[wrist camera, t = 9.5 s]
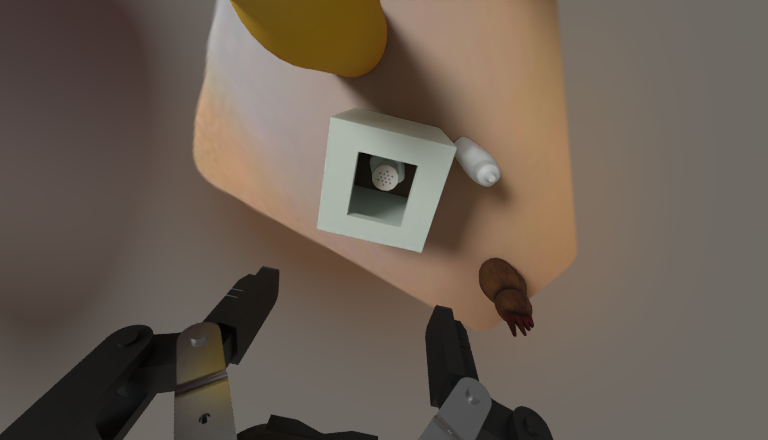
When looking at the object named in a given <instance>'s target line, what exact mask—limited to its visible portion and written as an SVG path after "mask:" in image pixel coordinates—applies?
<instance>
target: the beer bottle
mask: <svg viewBox="0 0 768 440" xmlns="http://www.w3.org/2000/svg"><path fill="white" fill-rule="evenodd" d="M230 1H231V3H232V5H233V7H234V9H235V11H236V12H237V14H238V16H239V18H240V19H241V21H242V23H243V24H244V25H245V27H246V28H247V29H248V31H249V32H250V33H251V35H252V36H253V37H254V38H255V39H256V40H257V41H258V42H259V43H260V44H261V45H262V46H263V47H264V48H265V49H267V50H268V51H270V52H271V53H272V54H274V55H275V56H277V57H278V58H280V59H281V60H283V61H286V62H288V63H290V64H292V65H294V66H298V67H302V68H306V69H313V70H318V71H323V72H328V73H332V74H337V75H340V76H344V77H357V76H361V75H364V74H366V73H367V72H369V71H371V70H372V69H373V68H374V67H375V66H376V65H377V64H378V62H379V61H380V59H381V57H382V55H383V53H384V50H385V47H386V43H387V24H386V18H385V15H384V12H383V10H382V7H381V3H380V0H230Z"/></svg>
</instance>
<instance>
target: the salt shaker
mask: <svg viewBox="0 0 768 440" xmlns="http://www.w3.org/2000/svg"><path fill="white" fill-rule="evenodd" d="M370 167H371V171H372V181H373V183H374V185H375V187H377V188H378V189H380V190H384V191H389V190H391V189H393V188H395V186H396V185H397V183H400V182H402V181H403V180H404V177H405V166H404V162H400V161H396V160H392V159H388V158H384V157H380V156H375V155H372V156H371V158H370Z"/></svg>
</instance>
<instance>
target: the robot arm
mask: <svg viewBox="0 0 768 440" xmlns="http://www.w3.org/2000/svg"><path fill="white" fill-rule="evenodd" d="M278 289H279V270H278V269H274V268H270V267H265V266H263V267H262V268H261V269H260V270H259V271H258V273H257V274H256V275H251V274H248V275H247V276H245V277H243V278H242V279H240V280H238V282H237V283H236V284H235V285H234V286H233V288H232V289H231V290H230V291H229V292H228V293H227V295H226V296H225V297H224V298H223V299H222V300H221V301H220V302H219V304H218V305H217V306H216V307H215V308H214V309H213V310H212V312H211V313H210V314H209V315H208V316H207V317H206V319H205V320H204V321H203V322H200V323H196V324H194V325H191V326H189V327H187V328H186V329H185V330H183V331H182V332H180V333H172V334H156V335H154V334H153V331H152V329H151V328H150V327H148V326H145V325H132V326H128V327H125V328H122V329H120V330H118V331H116V332H114V333H113V334H111V335H110V336H108V337H107V338H106V339H105V340H104V341H103V342H102V343H101V344H99V345H98V346H97V347H96V348H95V349H94V350H93V351H92V352H91V353H90V354H88V355H87V356H86V357H85V358H84V359H83V360H82V361H81V362H79V363H78V364H77V365H76V366H75V367H74V368H73V369H72V370H71V371H70V372H69V373H68V374H66V375H65V376H64V377H63V378H62V379H61V380H60V381H59V382H57V384H55V385H54V386H53V387H52V388H51V389H50V390H49V391H48V392H46V393H45V394H44V395H43V396H42V397H41V398H40V399H39V400H38V401H36V402H35V403H34V404H33V405H32V406H31V407H30V408H29V409H28V410H27V411H25V412H24V414H22V415H21V416H20V417H19V418H18V419H17V420H16V421H15V422H14V423H12V424H11V425H10V426H9V427H8V428H7V429H6V430H5V431H3V432H2V433H1V434H0V440H123V438H124V437H125V436H126V435H127V433H128V432H129V430H130V429H131V428H132V426H133V425H134V424H135V422H136V421H137V420H138V418H139V417H140V416H141V414H142V413H143V411H144V410H145V409H146V408H147V406H148V405H149V404H150V402H151V401H152V400H153V398H154V397H155V395H156V394H157V393H163V392H172V391H175V393H174V440H378V436H374V435H369V434H364V433H360V432H355V431H348V432H337V433H329V434H323V433H320V432H318V431H317V430H315V429H313V428H311V427H310V426H308V425H306V424H304V423H302V422H301V421H299V420H295V419H291V418H285V417H281V416H276V415H271V417H270V419H269V421H268V423H267V424H260V425H257V426H253V427H250V428H248V429H246V430H244V431H242V432H240V433H238V434H237V435H236V428H235V422H234V415H233V408H232V401H231V394H230V387H229V381H228V374H227V372H226V368H227V366H228V365H229V363H232V364H237V365H238V364H239V363H240V361H241V359H242V358H243V356H244V354H245V353H246V351H247V349H248V348H249V346H250V344H251V343H252V341H253V339H254V338H255V336H256V334H257V333H258V331H259V329H260V328H261V326H262V324H263V323H264V321H265V320H266V318H267V316H268V315H269V313H270V311H271V310H272V308H273V306H274V305H275V302H276V300H277V297H278ZM425 341H426V353H427V365H428V377H429V391H430V404H431V406H433V407H438V408H439V412H438V413H437V414H436V416H434V417H433V419H432V420H431V421H430V423H429V424H428V426H427V427H426V429H425V430H424V432H423V433H422V435H421V436H420V438H419V439H418V440H553V438H552V435H551V432H550V430H549V428H548V426H547V424H546V423H545V421H544V420H543V419H542V418H541V417H540V416H539V415H538V414H537V413H536V412H535V411H533V410H532V409H529V408H527V407H523V406H520V407H517V408H516V409H515V410H514V411H512V410H510V409H509V408H507V407H505V406H503V405H501V404H499V403H498V402H496V401H494V400H493V399H492V398H491V397H490V394H489V392H488V391H487V389H486V388H485V387H484V386H483V385H482V384H481V383H480V382H479V379H478V375H477V371H476V367H475V363H474V359H473V355H472V351H471V347H470V343H469V339H468V335H467V331H466V329H465V328H464V326H463V325H462V323H461V322H460V321H457V320H454V316H453V311H452V309H451V308H447V307H443V306H438V305H436V306H435V308H434V311H433V313H432V315H431V318H430V320H429V323H428V325H427V329H426V335H425Z"/></svg>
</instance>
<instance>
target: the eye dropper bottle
mask: <svg viewBox="0 0 768 440" xmlns="http://www.w3.org/2000/svg"><path fill="white" fill-rule="evenodd" d="M453 144H454V145H455V146H456V147H457V149H456V152H455V155H454V156H455V158H456V160H457V161H458V162H459V164H460V165H461V167H462V168H463V169H464V171H465V172H466V173H467V175H468V176H469V177H470V178H471V179H472V180H473V181H475V182H476V183H478V184H480V185H482V186H485V187H490V186H492V185H493V184H494V183H496V182H497V181H498V180H499V179H500V176H501V174H500V169H499V167H498V164H497V163H496V161H495V159H494V158H493V157H492V156H491V155H490V154H489V153H488V152H487V151H485V150H484V149H483V148H481V147H480V146H479V145H478V144H476V143H475V142H474V141H472V140H471V139H469V138H467V137H460V138H459V139H458V140H457V141H456V142H454V143H453Z"/></svg>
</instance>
